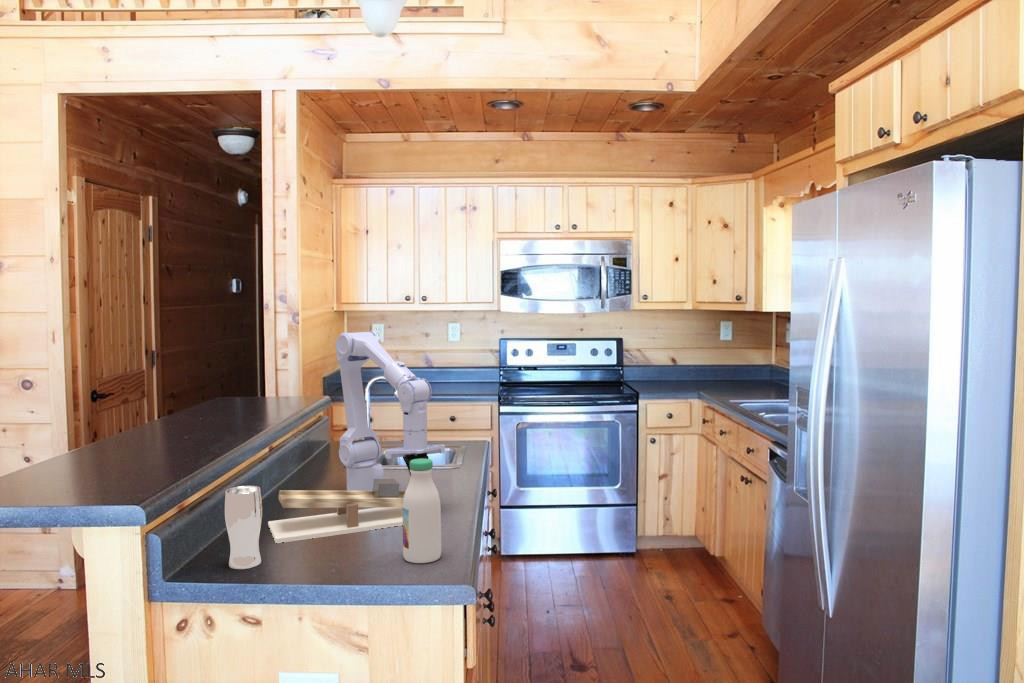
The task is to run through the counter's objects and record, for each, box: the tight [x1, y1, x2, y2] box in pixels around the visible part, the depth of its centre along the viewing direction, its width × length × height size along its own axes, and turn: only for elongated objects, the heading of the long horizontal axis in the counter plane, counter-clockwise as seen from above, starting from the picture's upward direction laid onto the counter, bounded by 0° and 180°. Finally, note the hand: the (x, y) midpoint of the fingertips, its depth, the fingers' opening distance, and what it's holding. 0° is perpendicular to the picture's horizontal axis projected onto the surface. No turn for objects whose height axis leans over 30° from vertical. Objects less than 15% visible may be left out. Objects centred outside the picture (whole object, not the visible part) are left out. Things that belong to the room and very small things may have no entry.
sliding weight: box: [372, 478, 401, 498], centre depth 174 cm, size 5×5×4 cm
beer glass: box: [224, 485, 263, 570], centre depth 144 cm, size 7×7×15 cm
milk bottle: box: [402, 458, 442, 564], centre depth 147 cm, size 8×8×20 cm
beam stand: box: [267, 504, 403, 544], centre depth 170 cm, size 34×14×6 cm, turn 115°
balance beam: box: [278, 489, 406, 509], centre depth 170 cm, size 30×9×3 cm, turn 115°
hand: (415, 484), depth 177 cm, fingers closed
